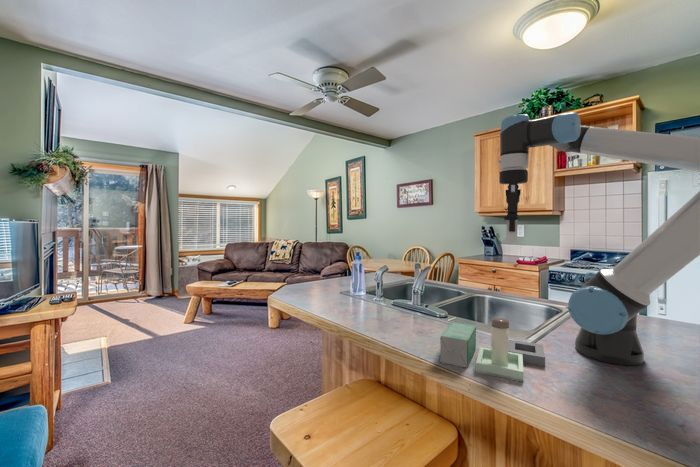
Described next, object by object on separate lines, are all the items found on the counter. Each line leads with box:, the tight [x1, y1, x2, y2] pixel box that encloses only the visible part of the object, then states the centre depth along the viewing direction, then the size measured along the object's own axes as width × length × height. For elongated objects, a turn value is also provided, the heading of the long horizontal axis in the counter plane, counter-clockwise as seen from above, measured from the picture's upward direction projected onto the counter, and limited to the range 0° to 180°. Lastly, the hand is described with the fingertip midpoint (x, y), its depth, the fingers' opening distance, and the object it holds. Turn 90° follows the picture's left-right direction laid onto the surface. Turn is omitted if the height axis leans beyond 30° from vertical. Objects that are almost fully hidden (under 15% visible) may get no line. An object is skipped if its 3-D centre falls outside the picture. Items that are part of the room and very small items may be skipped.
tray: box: [475, 346, 524, 383], centre depth 83 cm, size 10×10×2 cm
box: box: [439, 322, 477, 368], centre depth 90 cm, size 7×14×8 cm, turn 150°
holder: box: [508, 339, 546, 368], centre depth 89 cm, size 9×9×2 cm
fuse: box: [490, 317, 510, 367], centre depth 82 cm, size 4×4×12 cm
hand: (511, 241), depth 96 cm, fingers open, 13 cm apart
